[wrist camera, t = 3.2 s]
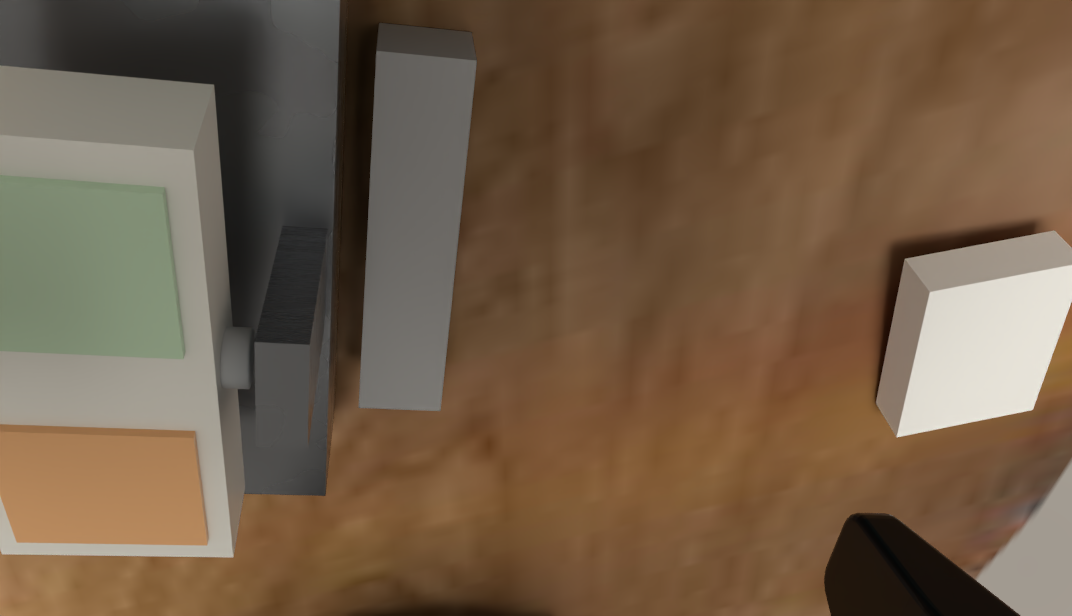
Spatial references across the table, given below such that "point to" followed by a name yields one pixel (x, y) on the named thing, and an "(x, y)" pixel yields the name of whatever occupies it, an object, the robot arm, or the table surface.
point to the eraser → (974, 332)
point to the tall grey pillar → (414, 212)
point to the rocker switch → (116, 321)
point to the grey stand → (244, 181)
